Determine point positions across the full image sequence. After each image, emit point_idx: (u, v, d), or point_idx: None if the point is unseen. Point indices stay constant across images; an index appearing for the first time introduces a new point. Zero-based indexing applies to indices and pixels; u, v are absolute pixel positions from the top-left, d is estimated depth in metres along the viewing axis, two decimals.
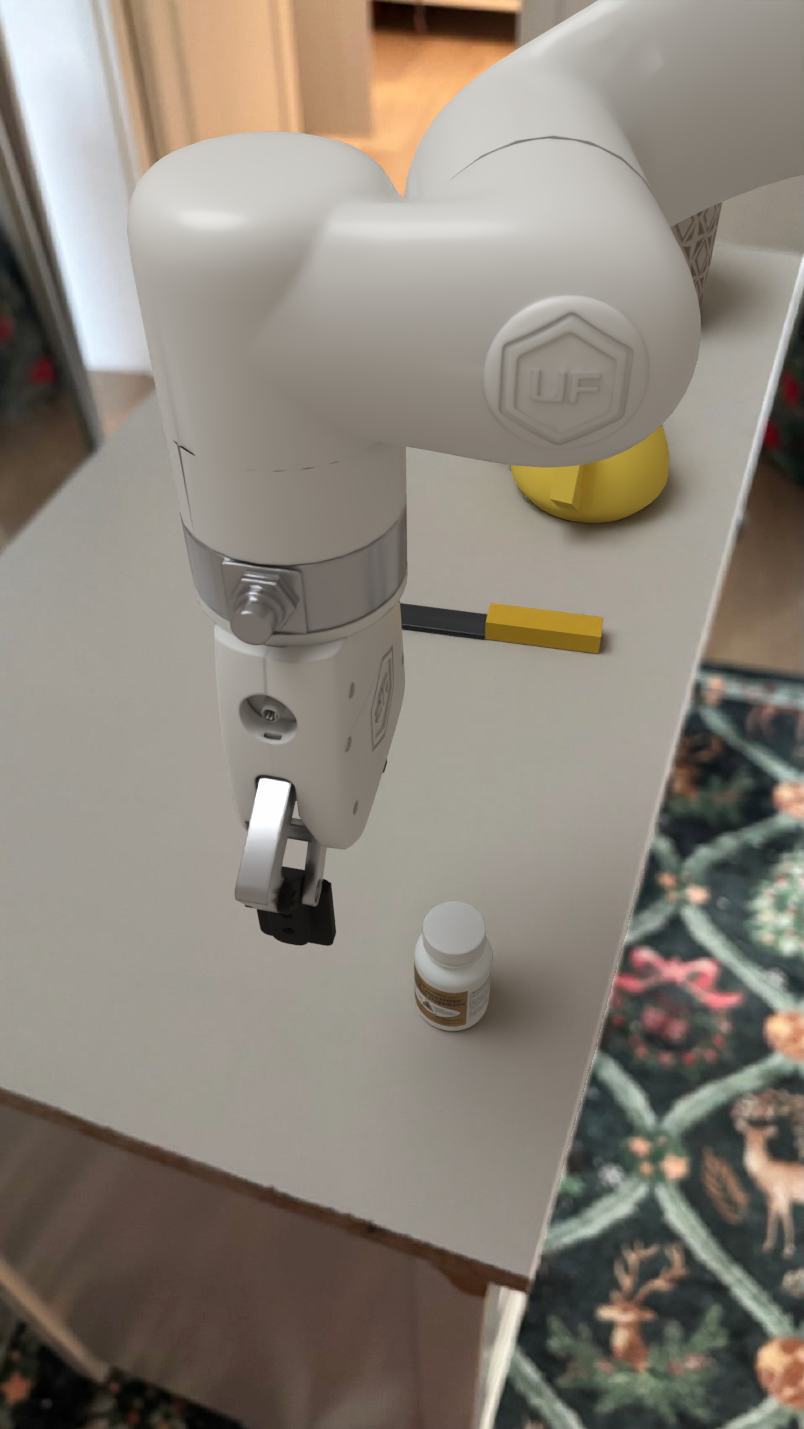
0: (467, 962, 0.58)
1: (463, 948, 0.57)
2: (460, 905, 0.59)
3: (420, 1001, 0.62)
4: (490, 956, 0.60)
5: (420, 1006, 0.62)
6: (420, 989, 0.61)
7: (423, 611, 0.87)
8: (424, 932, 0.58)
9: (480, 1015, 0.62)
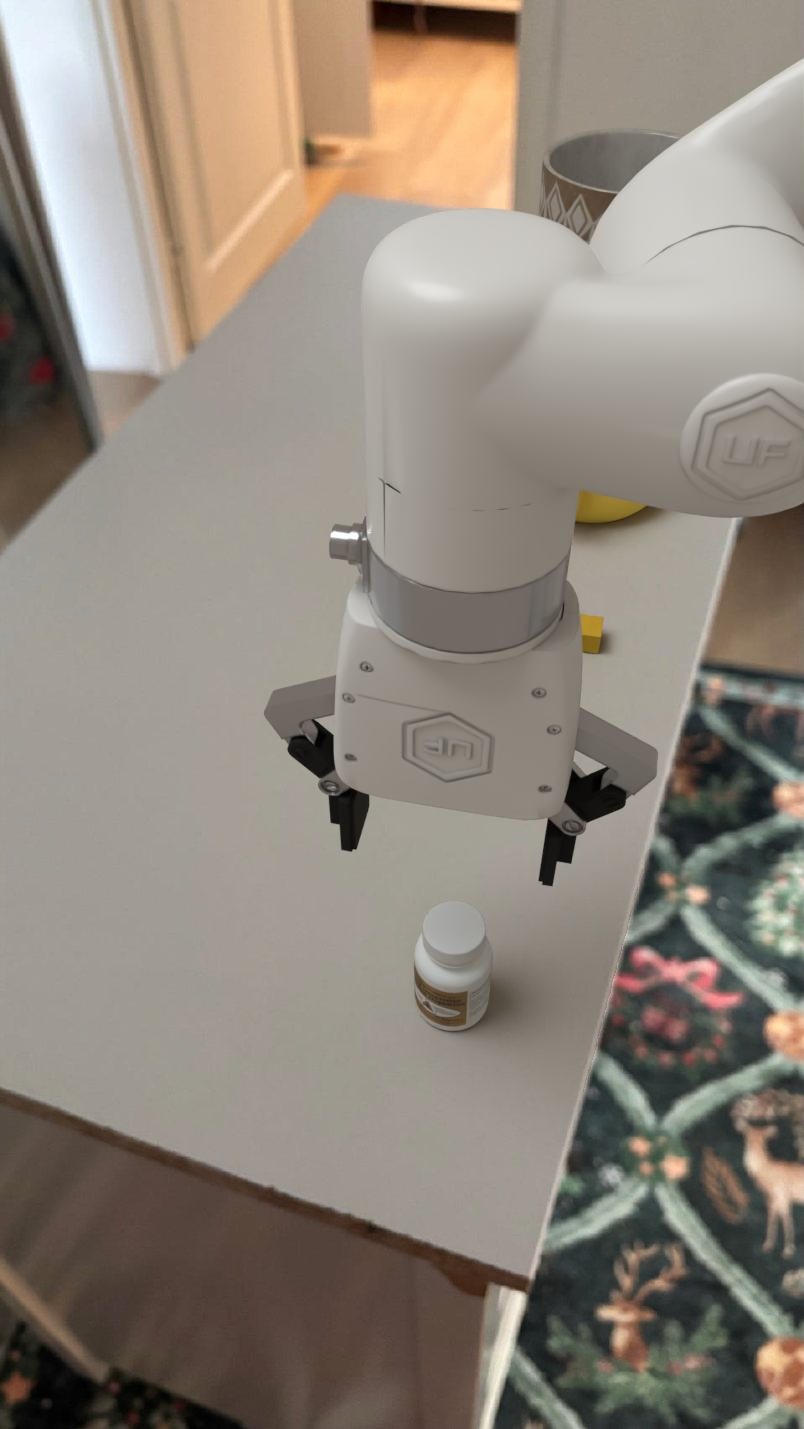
0: (467, 962, 0.58)
1: (463, 948, 0.57)
2: (460, 905, 0.59)
3: (420, 1001, 0.62)
4: (490, 956, 0.60)
5: (420, 1006, 0.62)
6: (420, 989, 0.61)
7: None
8: (424, 932, 0.58)
9: (480, 1015, 0.62)
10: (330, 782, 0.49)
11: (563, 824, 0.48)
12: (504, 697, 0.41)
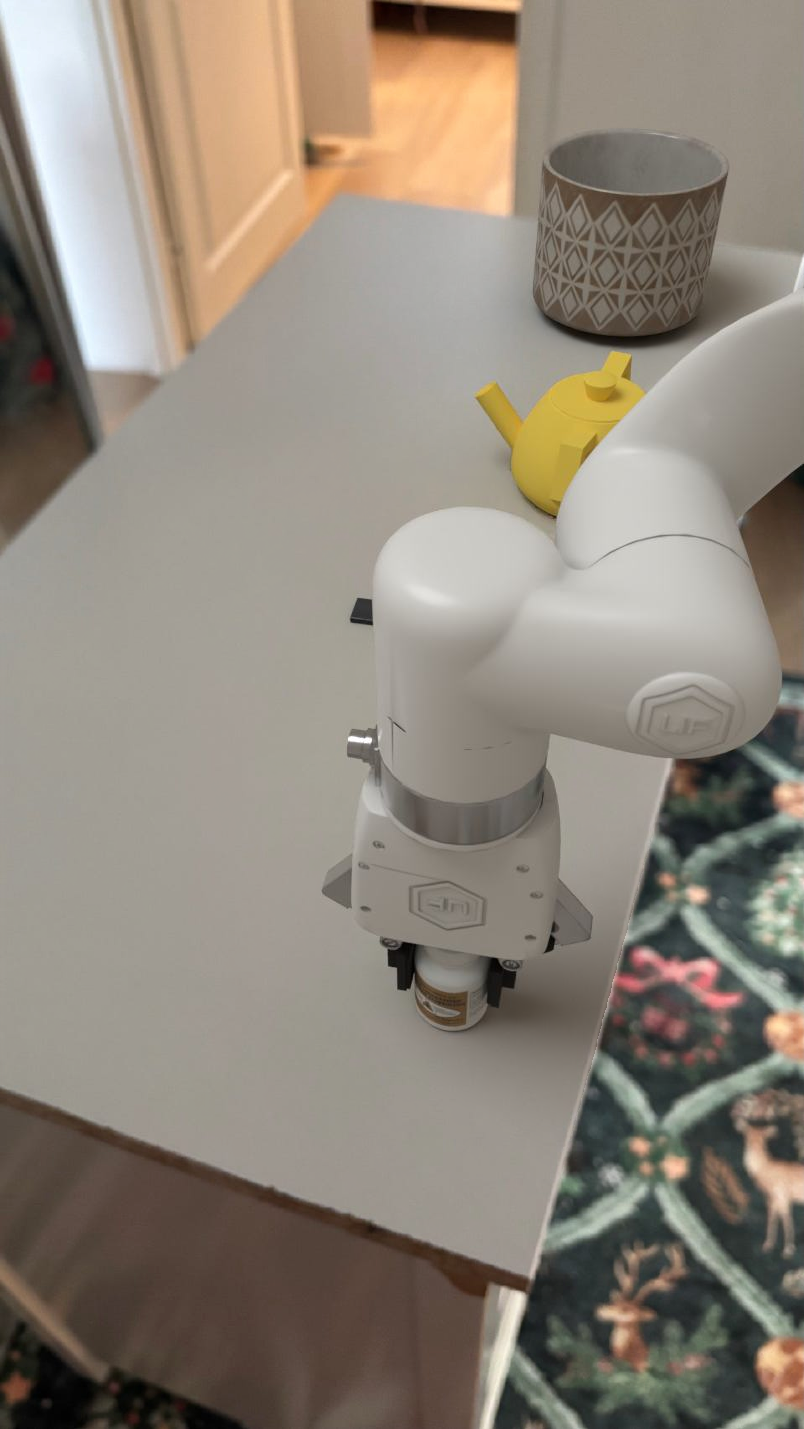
0: (467, 962, 0.58)
1: None
2: None
3: (420, 1001, 0.62)
4: None
5: (420, 1006, 0.62)
6: (420, 989, 0.61)
7: None
8: None
9: (480, 1015, 0.62)
10: (390, 939, 0.58)
11: (504, 961, 0.57)
12: (494, 871, 0.49)
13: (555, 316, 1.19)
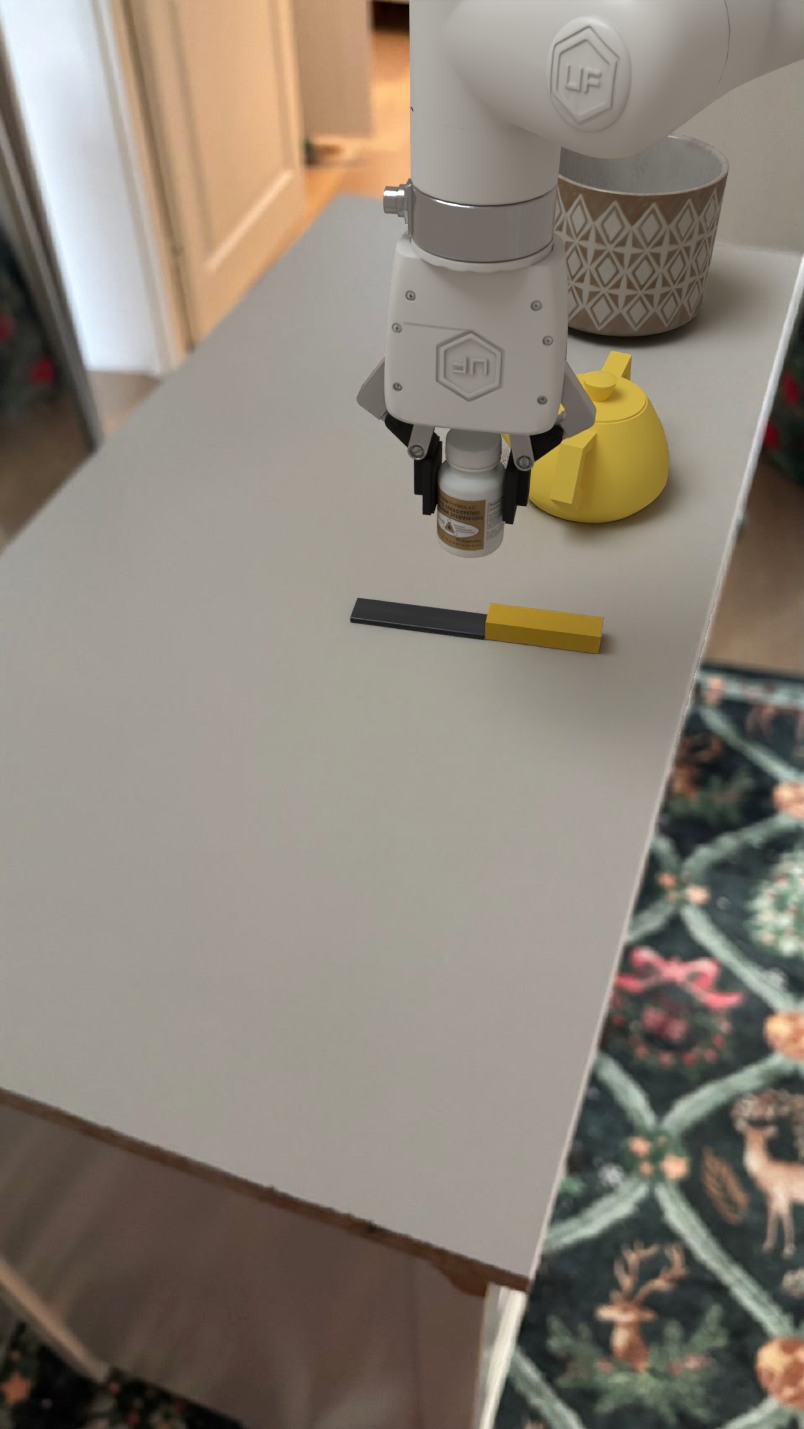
0: (485, 466, 0.65)
1: (482, 449, 0.65)
2: None
3: (442, 528, 0.69)
4: None
5: (442, 535, 0.69)
6: (443, 511, 0.68)
7: (423, 611, 0.87)
8: (447, 441, 0.65)
9: (496, 544, 0.70)
10: (416, 447, 0.66)
11: (518, 462, 0.65)
12: (511, 311, 0.57)
13: None
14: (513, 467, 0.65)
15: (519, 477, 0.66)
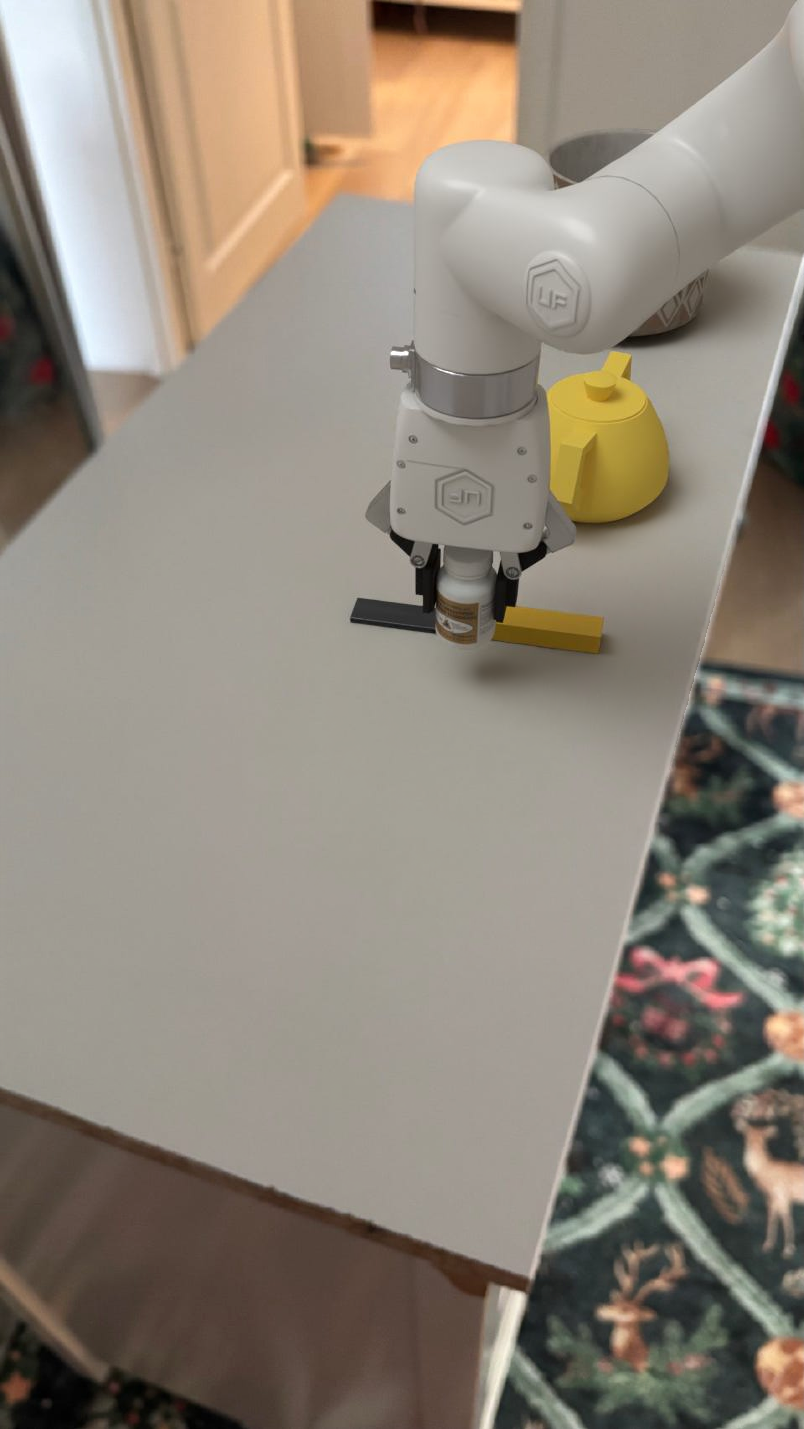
0: (478, 575, 0.74)
1: (475, 560, 0.73)
2: None
3: (440, 624, 0.78)
4: None
5: (440, 630, 0.78)
6: (441, 610, 0.77)
7: None
8: (445, 552, 0.74)
9: (488, 637, 0.78)
10: (418, 557, 0.74)
11: (507, 572, 0.74)
12: (500, 455, 0.65)
13: None
14: (503, 576, 0.74)
15: (508, 583, 0.75)
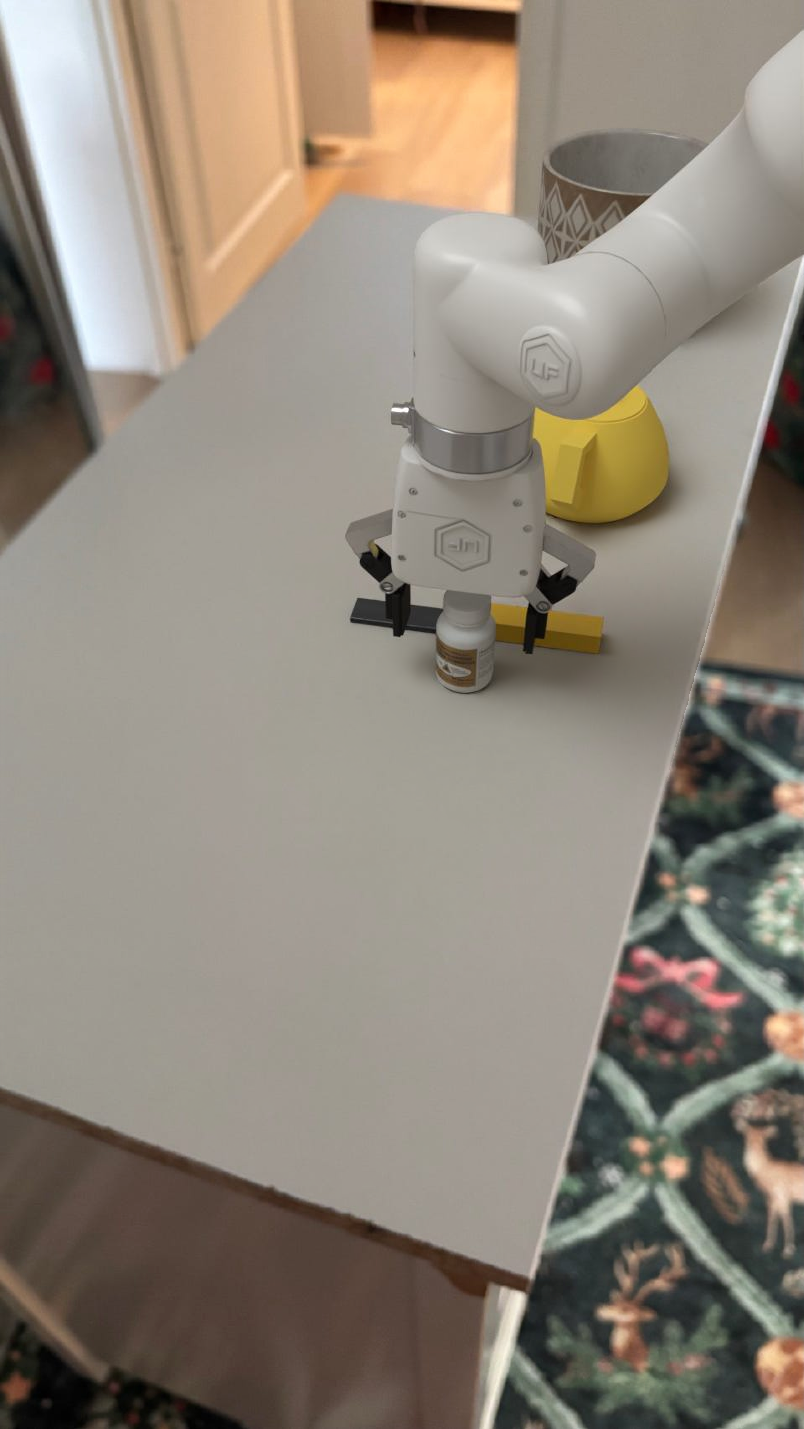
0: (476, 623, 0.77)
1: (474, 609, 0.76)
2: None
3: (440, 667, 0.81)
4: (494, 625, 0.79)
5: (440, 673, 0.81)
6: (441, 655, 0.80)
7: (423, 611, 0.87)
8: (444, 600, 0.77)
9: (486, 680, 0.81)
10: (387, 583, 0.76)
11: (537, 605, 0.75)
12: (497, 507, 0.68)
13: None
14: (533, 609, 0.76)
15: (538, 616, 0.76)
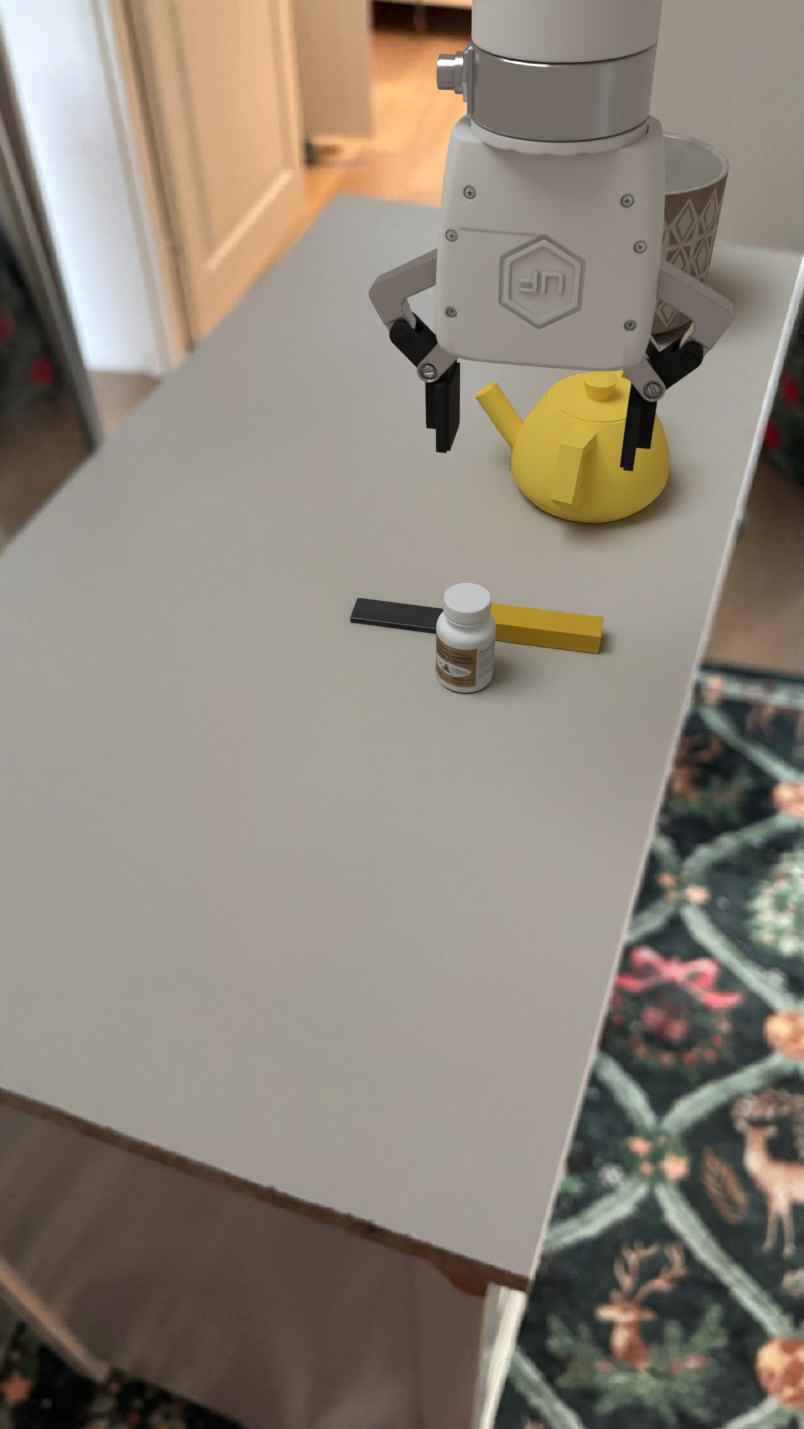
0: (476, 623, 0.77)
1: (474, 609, 0.76)
2: (471, 585, 0.78)
3: (440, 667, 0.81)
4: (494, 625, 0.79)
5: (440, 673, 0.81)
6: (441, 655, 0.80)
7: (423, 611, 0.87)
8: (444, 600, 0.77)
9: (486, 680, 0.81)
10: (428, 366, 0.54)
11: (644, 390, 0.52)
12: (595, 209, 0.46)
13: None
14: (638, 397, 0.53)
15: (644, 411, 0.54)
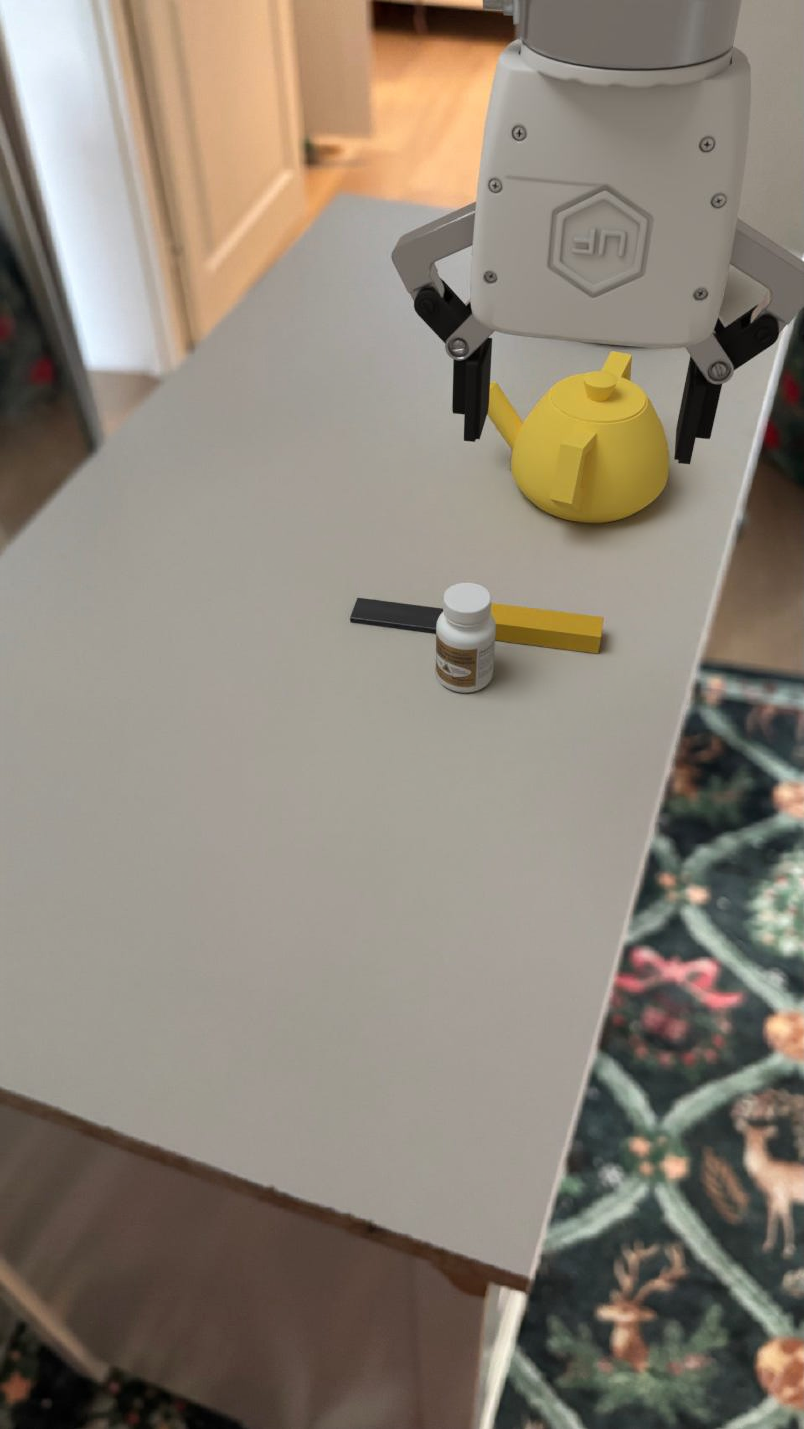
0: (476, 622, 0.77)
1: (474, 609, 0.76)
2: (471, 584, 0.78)
3: (440, 667, 0.81)
4: (494, 625, 0.79)
5: (440, 673, 0.81)
6: (441, 654, 0.80)
7: (423, 611, 0.87)
8: (444, 600, 0.77)
9: (486, 680, 0.81)
10: (458, 341, 0.47)
11: (708, 371, 0.46)
12: (669, 154, 0.39)
13: None
14: (700, 379, 0.46)
15: (706, 395, 0.47)
